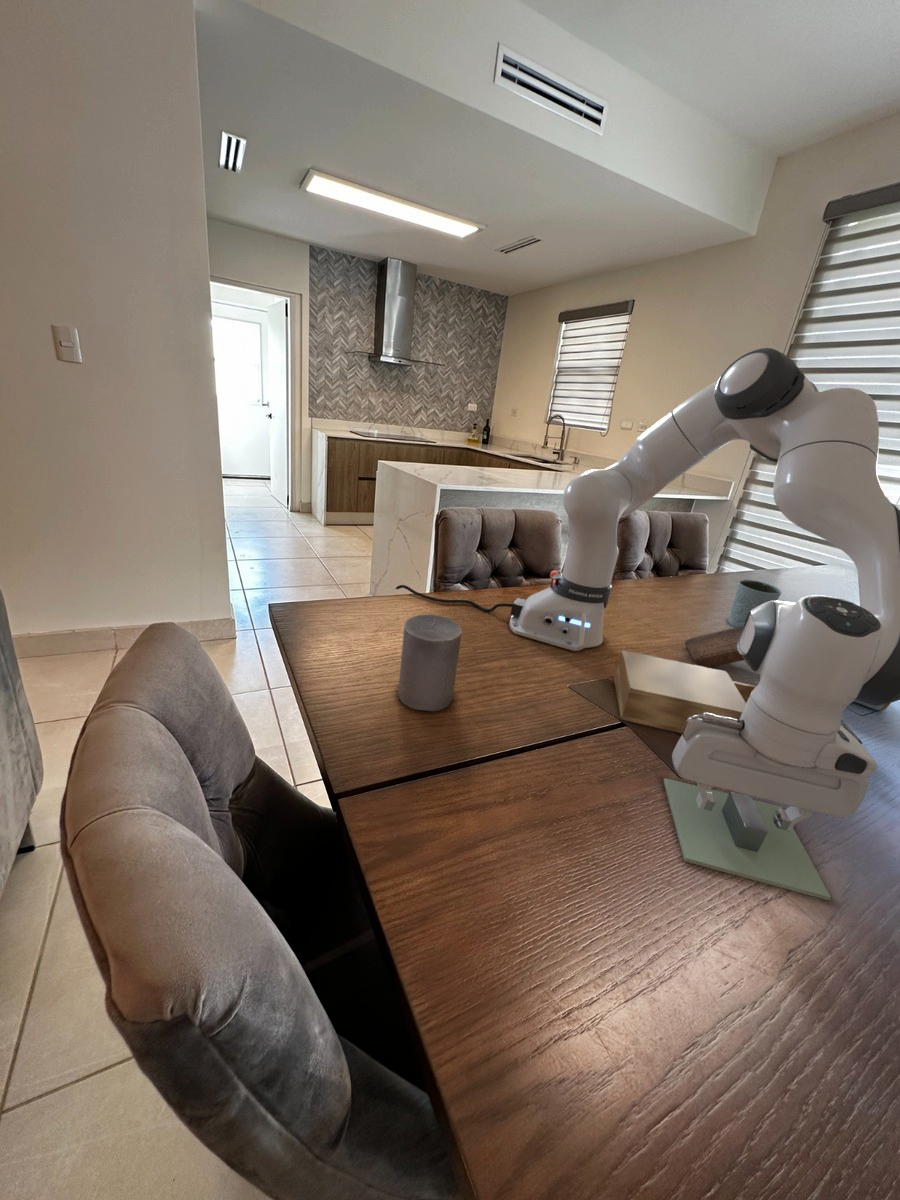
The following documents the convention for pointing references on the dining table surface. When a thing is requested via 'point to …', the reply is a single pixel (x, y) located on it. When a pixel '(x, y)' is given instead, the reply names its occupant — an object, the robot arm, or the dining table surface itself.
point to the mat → (715, 847)
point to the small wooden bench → (715, 648)
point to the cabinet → (672, 691)
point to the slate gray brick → (744, 822)
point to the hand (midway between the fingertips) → (741, 816)
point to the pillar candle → (429, 662)
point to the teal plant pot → (750, 599)
